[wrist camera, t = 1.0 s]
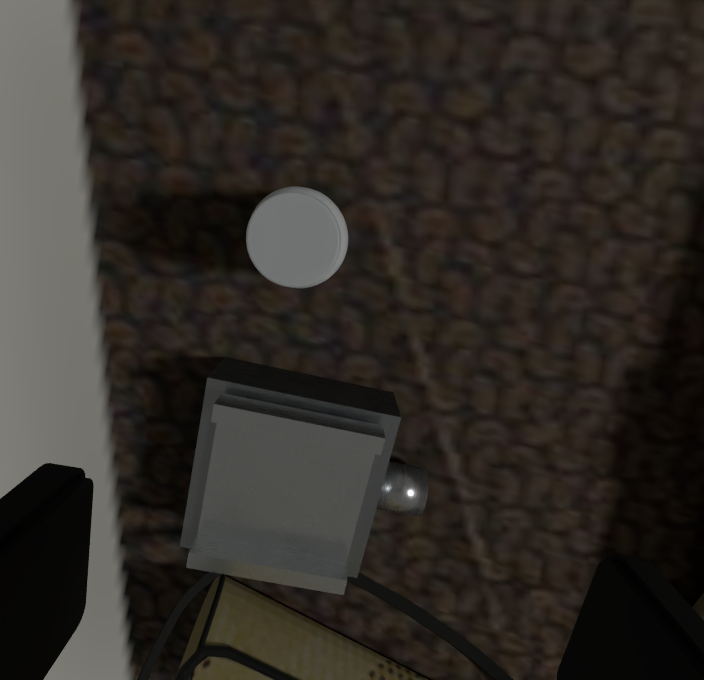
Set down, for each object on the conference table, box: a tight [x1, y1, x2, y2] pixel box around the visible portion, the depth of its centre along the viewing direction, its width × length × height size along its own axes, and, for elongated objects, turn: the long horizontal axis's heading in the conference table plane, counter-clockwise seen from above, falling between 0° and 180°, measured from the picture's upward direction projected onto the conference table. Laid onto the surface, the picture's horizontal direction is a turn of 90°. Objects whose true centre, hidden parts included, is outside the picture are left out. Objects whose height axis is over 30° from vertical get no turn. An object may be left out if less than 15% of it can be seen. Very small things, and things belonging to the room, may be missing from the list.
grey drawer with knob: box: [180, 357, 429, 595], centre depth 28 cm, size 11×14×6 cm
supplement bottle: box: [246, 186, 348, 288], centre depth 23 cm, size 5×5×8 cm
